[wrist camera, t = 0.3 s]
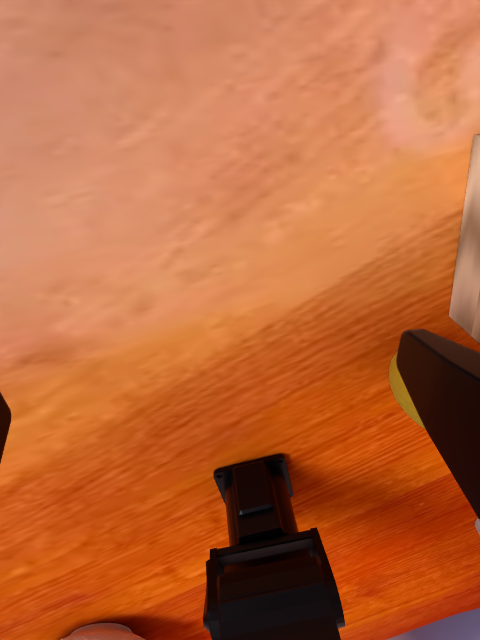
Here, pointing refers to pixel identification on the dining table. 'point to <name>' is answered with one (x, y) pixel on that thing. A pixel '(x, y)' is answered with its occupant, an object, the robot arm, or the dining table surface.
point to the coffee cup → (477, 525)
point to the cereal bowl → (103, 632)
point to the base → (469, 255)
